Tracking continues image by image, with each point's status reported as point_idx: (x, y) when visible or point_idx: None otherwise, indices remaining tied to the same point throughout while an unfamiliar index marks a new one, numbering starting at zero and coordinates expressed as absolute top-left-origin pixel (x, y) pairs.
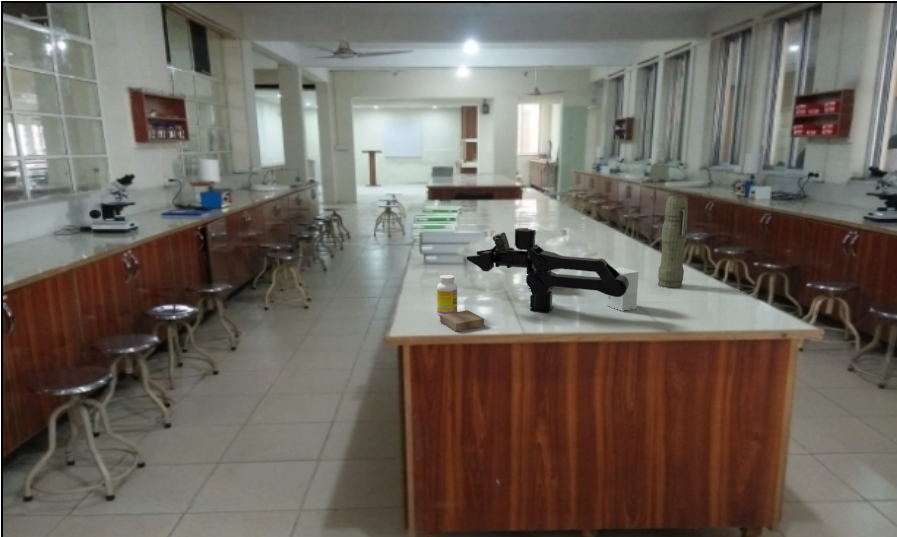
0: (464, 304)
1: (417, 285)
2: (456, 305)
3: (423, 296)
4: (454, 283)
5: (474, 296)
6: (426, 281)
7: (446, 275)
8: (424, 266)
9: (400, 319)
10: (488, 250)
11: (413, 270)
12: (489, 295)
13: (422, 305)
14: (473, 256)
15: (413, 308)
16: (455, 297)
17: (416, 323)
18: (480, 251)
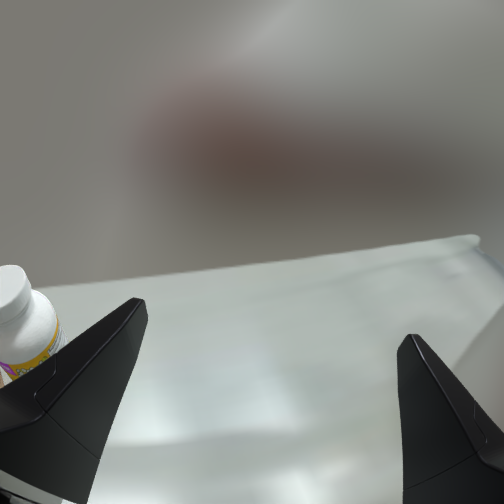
0: (185, 440)
1: (348, 267)
2: None
3: (252, 300)
4: (15, 340)
5: (318, 449)
6: (391, 275)
7: (13, 283)
8: (466, 250)
9: (42, 288)
10: (461, 435)
11: (435, 241)
12: (357, 496)
13: (154, 314)
14: (68, 345)
15: (124, 299)
16: (10, 377)
17: None
18: (420, 363)
